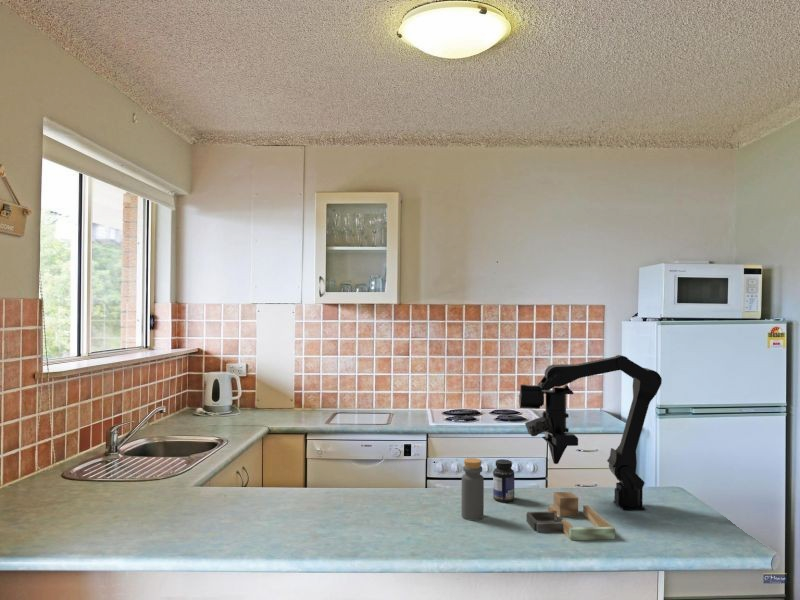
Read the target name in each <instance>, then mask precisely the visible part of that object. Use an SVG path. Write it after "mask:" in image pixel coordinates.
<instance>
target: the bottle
mask: <svg viewBox="0 0 800 600" xmlns="http://www.w3.org/2000/svg"><path fill="white" fill-rule="evenodd" d="M463 463H464V466H462V470H463V472H464V473H463V475H461V518H463V519H465V520H468V521H481V520H483V518H484V510H485V509H484V503H485V501H484V500H485V498H484V493H485V492H484V490H485V489H484V487H485V485H484V484H485V483H484V482H485V481H484V480H485V479H484V476H483V474H481V473H482V472H483V467H482V466H481V465H482V459H479V458H476V457H474V458H473V457H468V458H465V459H463Z"/></svg>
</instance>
